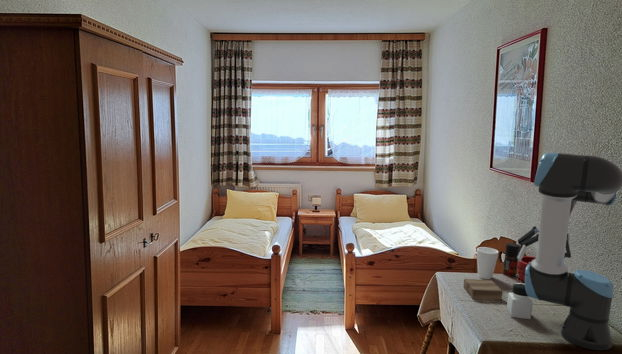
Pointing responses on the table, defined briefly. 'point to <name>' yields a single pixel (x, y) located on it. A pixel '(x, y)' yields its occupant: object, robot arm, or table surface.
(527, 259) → the plant pot
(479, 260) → the foam cup
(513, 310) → the medicine bottle
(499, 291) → the walnut plinth
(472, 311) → the table surface
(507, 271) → the deodorant
